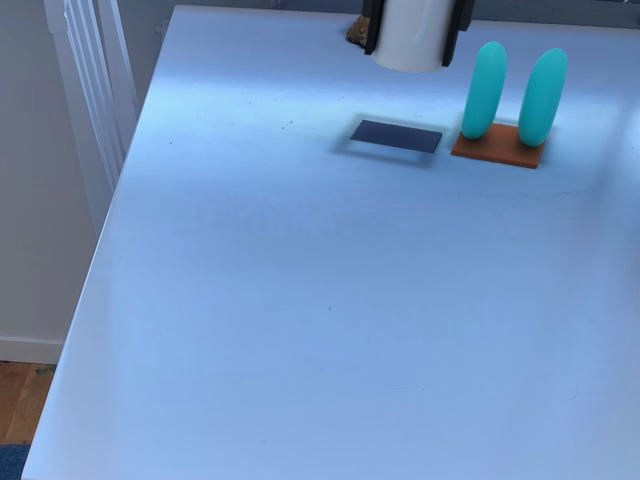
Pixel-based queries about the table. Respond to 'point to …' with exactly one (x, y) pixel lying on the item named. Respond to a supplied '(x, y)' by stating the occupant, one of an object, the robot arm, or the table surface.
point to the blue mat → (397, 136)
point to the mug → (413, 35)
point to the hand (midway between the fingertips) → (408, 56)
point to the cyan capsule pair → (537, 97)
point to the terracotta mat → (499, 147)
